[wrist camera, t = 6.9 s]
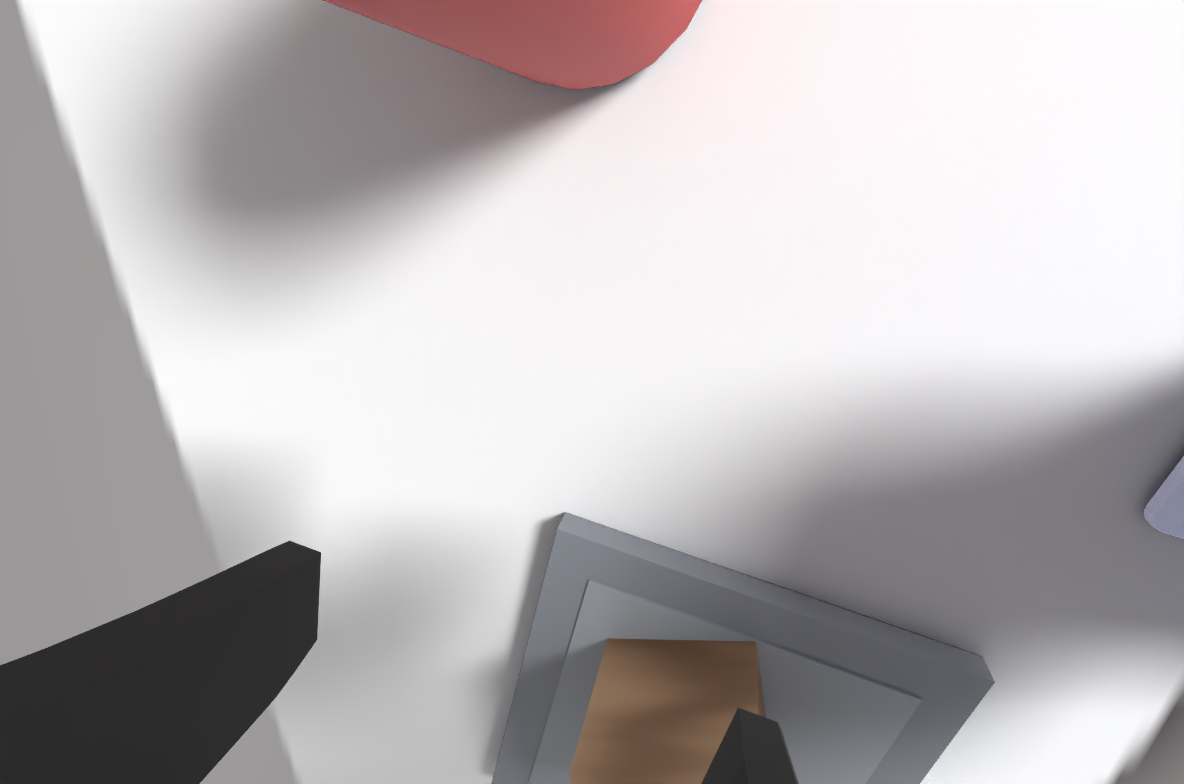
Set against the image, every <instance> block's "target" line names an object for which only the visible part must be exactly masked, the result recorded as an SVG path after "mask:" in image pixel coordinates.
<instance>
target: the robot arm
mask: <svg viewBox="0 0 1184 784" xmlns="http://www.w3.org/2000/svg"><path fill="white" fill-rule="evenodd" d="M1144 518H1145V519H1146V521H1147V522H1148V523H1149V524H1150V525H1151V526H1152V527H1153V528H1155V529H1156V530H1158V531H1160V532H1162V533H1165V534H1168V535H1171V536H1175V537H1178V538H1181V539H1184V456H1183V457H1182V459H1181V460H1180V461H1179V463H1178V464H1177V465H1176V467H1175V468H1174V469H1173V471H1172V472H1171V473H1170V475H1169V476H1168V477H1167V479H1166V480H1165V481H1164V482H1163V484H1162V485H1161V486H1160V488H1159V489H1158V490H1157V492H1156V493H1155V494H1154V496H1153V497H1152V498H1151V500H1150V501H1149V502H1148V504H1147V505H1146V507H1145V509H1144ZM320 563H321V552H318V551H316V550H313V549H310V548H308V547H305V546H302V545H299V544H297V543H294V542H291V541H288V542H285V543H283V544H281V545H279V546H276V547H274V548H272V549H270V550H268V551H265V552H263V553H261V554H259V555H257V556H255V557H252V558H250V559H248V560H246V561H244V562H242V563H240V564H238V565H235V566H233V567H231V568H229V569H227V570H225V571H223V572H220V573H218V574H216V575H214V576H212V577H210V578H208V579H206V580H204V581H201V582H199V583H197V584H195V585H192V586H190V587H188V588H186V589H184V590H182V591H179V592H177V593H175V594H173V595H170V596H168V597H166V598H164V599H162V600H159V601H157V602H155V603H153V604H150V605H148V606H146V607H144V608H141V609H139V610H137V611H135V612H132V613H130V614H128V615H125V616H123V617H120V618H118V619H116V620H113V621H111V622H108V623H106V624H103V625H101V626H98V627H96V628H94V629H91V630H89V631H86V632H84V633H82V634H79V635H77V636H74V637H72V638H70V639H67V640H65V641H62V642H60V643H58V644H55V645H53V646H51V647H48V648H45V649H43V650H40V651H37V652H35V653H32V654H30V655H27V656H25V657H22V658H19V659H17V660H14V661H11V662H8V663H6V664H3V665H0V784H199V783H200V782H201V781H202V780H203V779H204V778H205V777H206V776H207V774H208V773H209V772H210V771H211V770H212V769H213V768H214V767H215V765H216V764H217V763H218V762H219V761H220V760H221V759H222V758H223V757H224V755H225V754H226V753H227V752H228V751H229V750H230V749H231V748H232V746H233V745H234V744H235V743H236V742H237V741H238V740H239V739H240V737H241V736H242V735H243V734H244V733H245V732H246V731H247V730H248V728H249V727H250V726H251V725H252V724H253V723H254V722H255V721H256V719H257V718H258V717H259V716H260V715H261V714H262V713H263V711H264V710H265V709H266V708H267V707H268V706H269V705H270V703H271V702H272V701H273V700H274V699H275V698H276V696H277V695H278V694H279V692H280V691H281V690H282V688H283V687H284V686H285V684H286V683H287V681H288V680H289V679H290V677H291V676H292V675H293V673H294V672H295V671H296V669H297V668H298V666H299V665H300V663H301V662H302V660H303V659H304V658H305V656H306V655H307V653H308V652H309V650H310V649H311V648H312V646H313V645H314V643H315V642H316V640H317V628H318V606H319V585H320ZM701 784H799V783H798V780H797V777H796V774H795V771H794V767H793V764H792V761H791V758H790V755H789V752H788V749H787V746H786V742H785V739H784V736H783V733H782V730H781V728H780V726H779V724H778V722H776V721H773V720H771V719H768V718H765V717H762V716H760V715H757V714H754V713H752V712H749V711H746V710H744V709H741V708H738V709H737V711H736V713H735V715H734V717H733V719H732V721H731V723H730V725H729V727H728V729H727V731H726V733H725V736H724V738H723V740H722V742H721V744H720V746H719V748H718V750H717V752H716V754H715V756H714V758H713V760H712V762H711V764H710V767H709V769H708V771H707V773H706V775H705V777H704V779H703V781H702V783H701Z"/></svg>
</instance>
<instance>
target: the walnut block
mask: <svg viewBox="0 0 1184 784" xmlns="http://www.w3.org/2000/svg"><path fill="white" fill-rule="evenodd" d="M738 708H741V709H744V710H746V711H749V712H752V713H754V714H757V715H760V716H762V717H765V718H766V715H765V707H764V700H763V692H762V684H761V676H760V668H759V660H758V653H757V645H756V642H755V641H707V640H660V639H612V638H608V639H607V642H606V646H605V649H604V653H603V656H602V660H601V663H600V667H599V670H598V674H597V677H596V681H595V685H594V688H593V692H592V695H591V699H590V702H589V706H588V709H587V713H586V716H585V720H584V723H583V727H582V730H581V734H580V737H579V741H578V745H577V748H576V752H575V755H574V759H573V762H572V766H571V769H570V773H569V775H570V779H571V782H572V784H701V783H702V781H703V779H704V777H705V775H706V773H707V771H708V769H709V767H710V764H711V762H712V760H713V758H714V756H715V754H716V752H717V750H718V748H719V746H720V744H721V742H722V740H723V738H724V736H725V733H726V731H727V729H728V727H729V725H730V723H731V721H732V719H733V717H734V715H735V713H736V711H737V709H738Z"/></svg>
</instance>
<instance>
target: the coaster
mask: <svg viewBox="0 0 1184 784" xmlns="http://www.w3.org/2000/svg"><path fill="white" fill-rule="evenodd" d="M608 638H612V639H660V640H707V641H755V642H756V645H757V653H758V660H759V668H760V676H761V684H762V692H763V700H764V707H765V715H766V718H768V719H771V720H773V721H776V722H778V724H779V726H780V728H781V730H782V733H783V736H784V739H785V742H786V746H787V749H788V752H789V755H790V758H791V761H792V764H793V767H794V771H795V774H796V777H797V780H798V783H799V784H920V782H921V781H922V780H923V778H924V777H925V776H926V774H927V773H928V772H929V770H930V769H931V768H932V766H933V765H934V764H935V762H936V761H937V759H938V758H939V757H940V755H941V754H942V753H943V751H944V750H945V749H946V747H947V746H948V745H949V743H950V742H951V740H952V739H953V738H954V736H955V735H956V734H957V732H958V731H959V730H960V728H961V727H962V726H963V724H964V723H965V721H966V720H967V719H968V717H969V716H970V715H971V713H972V712H973V711H974V709H975V708H976V707H977V705H978V704H979V703H980V701H981V700H982V698H983V697H984V696H985V694H986V693H987V692H988V690H989V689H990V688H991V686H992V685H993V684H994V680H993V678H992V676H991V674H990V672H989V670H988V668H987V666H986V664H985V661H984V659H983V657H981V656H979V655H976V654H973V653H970V652H967V651H964V650H961V649H958V648H955V647H953V646H950V645H947V644H944V643H941V642H938V641H935V640H932V639H929V638H927V637H924V636H921V635H918V634H915V633H912V632H909V631H906V630H903V629H901V628H898V627H895V626H892V625H889V624H886V623H883V622H880V621H877V620H875V619H872V618H869V617H866V616H863V615H860V614H857V613H854V612H851V611H849V610H846V609H843V608H840V607H837V606H834V605H831V604H828V603H825V602H823V601H820V600H817V599H814V598H811V597H808V596H805V595H802V594H799V593H797V592H794V591H791V590H788V589H785V588H782V587H779V586H776V585H773V584H771V583H768V582H765V581H762V580H759V579H756V578H753V577H750V576H747V575H745V574H742V573H739V572H736V571H733V570H730V569H727V568H724V567H721V566H719V565H716V564H713V563H710V562H707V561H704V560H701V559H698V558H695V557H693V556H690V555H687V554H684V553H681V552H678V551H675V550H672V549H670V548H667V547H664V546H661V545H658V544H655V543H652V542H649V541H646V540H644V539H641V538H638V537H635V536H632V535H629V534H626V533H623V532H620V531H618V530H615V529H612V528H609V527H606V526H603V525H600V524H597V523H594V522H592V521H589V520H586V519H583V518H580V517H577V516H574V515H571V514H568V513H566V512H565V514H564V516H563V518H562V520H561V522H560V524H559V526H558V528H557V531H556V535H555V539H554V543H553V546H552V550H551V554H550V558H549V562H548V566H547V570H546V574H545V578H544V581H543V585H542V589H541V593H540V597H539V601H538V605H537V609H536V613H535V617H534V620H533V624H532V628H531V632H530V636H529V640H528V644H527V648H526V652H525V655H524V659H523V663H522V667H521V671H520V675H519V679H518V683H517V687H516V691H515V694H514V698H513V702H512V706H511V710H510V714H509V718H508V722H507V726H506V729H505V733H504V737H503V741H502V745H501V749H500V753H499V757H498V761H497V764H496V768H495V772H494V776H493V780H492V784H572V782H571V779H570V775H569V773H570V769H571V766H572V762H573V759H574V755H575V752H576V748H577V745H578V741H579V737H580V734H581V730H582V727H583V723H584V720H585V716H586V713H587V709H588V706H589V702H590V699H591V695H592V692H593V688H594V685H595V681H596V677H597V674H598V670H599V667H600V663H601V660H602V656H603V653H604V649H605V646H606V642H607V639H608Z"/></svg>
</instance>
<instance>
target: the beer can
mask: <svg viewBox="0 0 1184 784" xmlns="http://www.w3.org/2000/svg"><path fill="white" fill-rule="evenodd" d="M324 1H326V2H329V3H332V4H334V5H337V6H339V7H342V8H345V9H347V10H350V11H353V12H355V13H358V14H360V15H363V16H366V17H368V18H371V19H374V20H376V21H379V22H381V23H384V24H387V25H389V26H392V27H395V28H397V29H400V30H402V31H405V32H408V33H410V34H413V35H416V36H418V37H421V38H423V39H426V40H429V41H431V42H434V43H437V44H439V45H442V46H444V47H447V48H450V49H452V50H455V51H458V52H460V53H463V54H465V55H468V56H471V57H473V58H476V59H479V60H481V61H484V62H486V63H489V64H492V65H494V66H497V67H500V68H502V69H505V70H507V71H510V72H513V73H515V74H518V75H521V76H523V77H526V78H528V79H531V80H534V81H536V82H541V83H545V84H550V85H554V86H559V87H564V88H568V89H573V90H577V89H584V88H591V87H598V86H605V85H611V84H615V83H617V82H619V81H621V80H623V79H625V78H627V77H629V76H630V75H632V74H634V73H636V72H638V71H640V70H642V69H644V68H645V67H647V66H649V65H651V64H653V63H654V62H655V61H656V60H657V59H658V58H659V57H660V56H661V55H662V54H663V53H664V52H665V51H666V50H667V49H668V47H669V46H670V45H671V44H672V43H673V42H674V41H675V40H676V39H677V38H678V37H679V36H680V35H681V34H682V33H683V32H684V31H685V30H686V29H687V27H688V25H689V23H690V22H691V20H692V18H693V16H694V14H695V12H696V10H697V9H698V7H699V5H700V3H701V1H702V0H324Z"/></svg>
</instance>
